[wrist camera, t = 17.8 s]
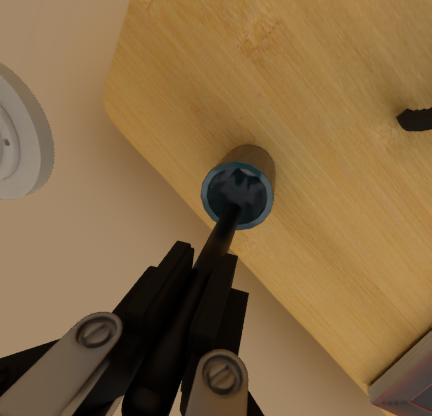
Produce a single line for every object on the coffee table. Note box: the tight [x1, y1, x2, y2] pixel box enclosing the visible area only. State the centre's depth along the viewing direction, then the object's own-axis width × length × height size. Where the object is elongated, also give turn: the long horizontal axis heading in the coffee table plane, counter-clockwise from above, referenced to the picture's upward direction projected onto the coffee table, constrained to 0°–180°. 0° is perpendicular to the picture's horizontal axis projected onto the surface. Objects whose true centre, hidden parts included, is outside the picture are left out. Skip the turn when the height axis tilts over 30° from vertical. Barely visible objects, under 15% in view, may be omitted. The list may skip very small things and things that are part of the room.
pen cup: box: [201, 144, 276, 230], centre depth 23 cm, size 6×6×8 cm
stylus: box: [121, 203, 242, 416], centre depth 12 cm, size 1×1×13 cm
